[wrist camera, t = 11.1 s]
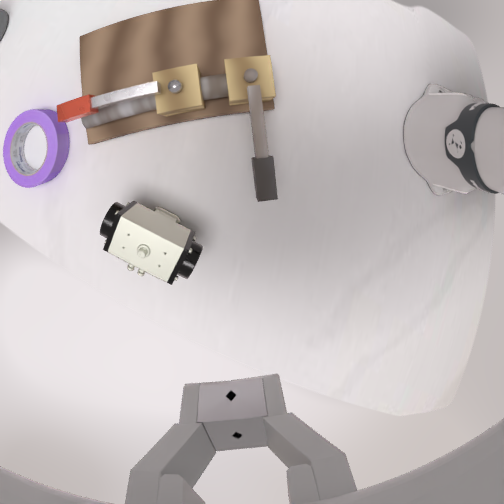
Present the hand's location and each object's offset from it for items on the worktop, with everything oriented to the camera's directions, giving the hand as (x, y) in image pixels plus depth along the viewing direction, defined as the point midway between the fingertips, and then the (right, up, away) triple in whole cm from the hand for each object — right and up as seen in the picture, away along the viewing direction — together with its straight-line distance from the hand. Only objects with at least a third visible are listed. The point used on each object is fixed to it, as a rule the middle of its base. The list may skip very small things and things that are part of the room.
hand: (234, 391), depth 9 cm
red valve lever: (-14, +21, +18) cm, 31 cm away
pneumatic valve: (-12, +9, +32) cm, 35 cm away
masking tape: (-32, +21, +25) cm, 46 cm away
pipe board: (-10, +25, +25) cm, 36 cm away
